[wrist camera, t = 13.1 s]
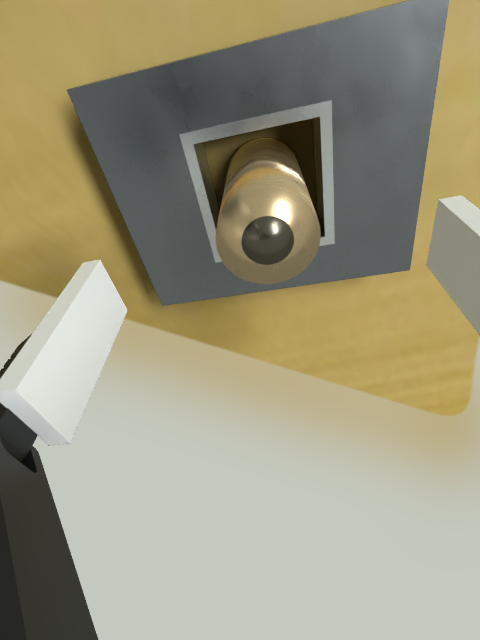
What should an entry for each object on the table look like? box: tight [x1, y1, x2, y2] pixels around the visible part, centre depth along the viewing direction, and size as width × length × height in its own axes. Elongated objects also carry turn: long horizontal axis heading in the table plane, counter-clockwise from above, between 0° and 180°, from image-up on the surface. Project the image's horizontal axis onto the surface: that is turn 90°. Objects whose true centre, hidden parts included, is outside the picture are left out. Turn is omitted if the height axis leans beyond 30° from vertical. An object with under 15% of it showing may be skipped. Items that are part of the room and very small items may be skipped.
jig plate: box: [67, 0, 449, 306], centre depth 21 cm, size 14×18×3 cm
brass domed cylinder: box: [215, 138, 321, 284], centre depth 19 cm, size 5×5×9 cm
